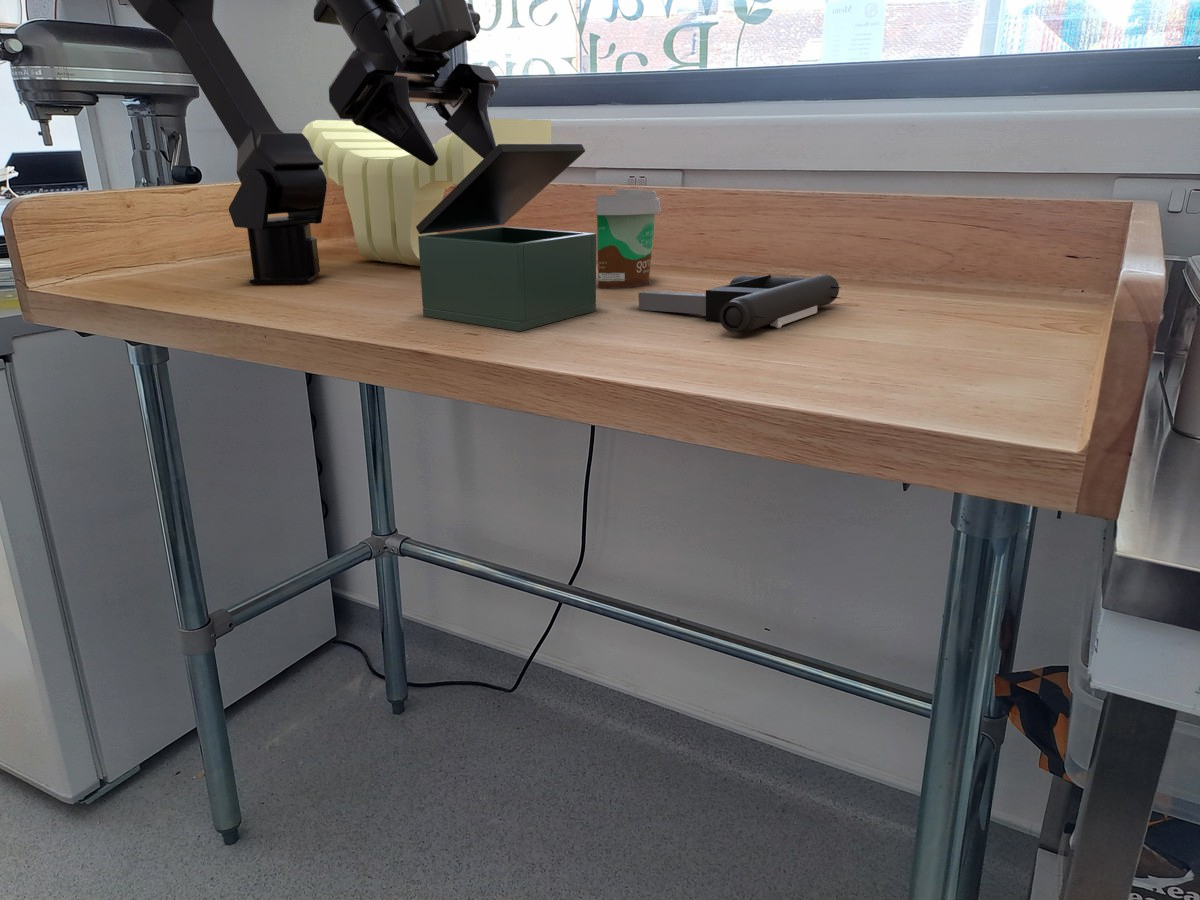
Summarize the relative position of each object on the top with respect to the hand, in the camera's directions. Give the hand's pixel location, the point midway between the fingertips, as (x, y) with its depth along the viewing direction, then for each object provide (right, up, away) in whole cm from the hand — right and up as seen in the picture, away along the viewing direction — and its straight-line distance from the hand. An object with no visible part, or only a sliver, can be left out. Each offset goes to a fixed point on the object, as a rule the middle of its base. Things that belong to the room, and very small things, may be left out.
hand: (466, 161), depth 81 cm
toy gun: (+25, -15, 0) cm, 29 cm away
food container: (+17, -8, +17) cm, 25 cm away
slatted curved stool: (-10, -2, +34) cm, 36 cm away
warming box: (+4, -15, -1) cm, 15 cm away
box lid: (+4, -4, -4) cm, 7 cm away
